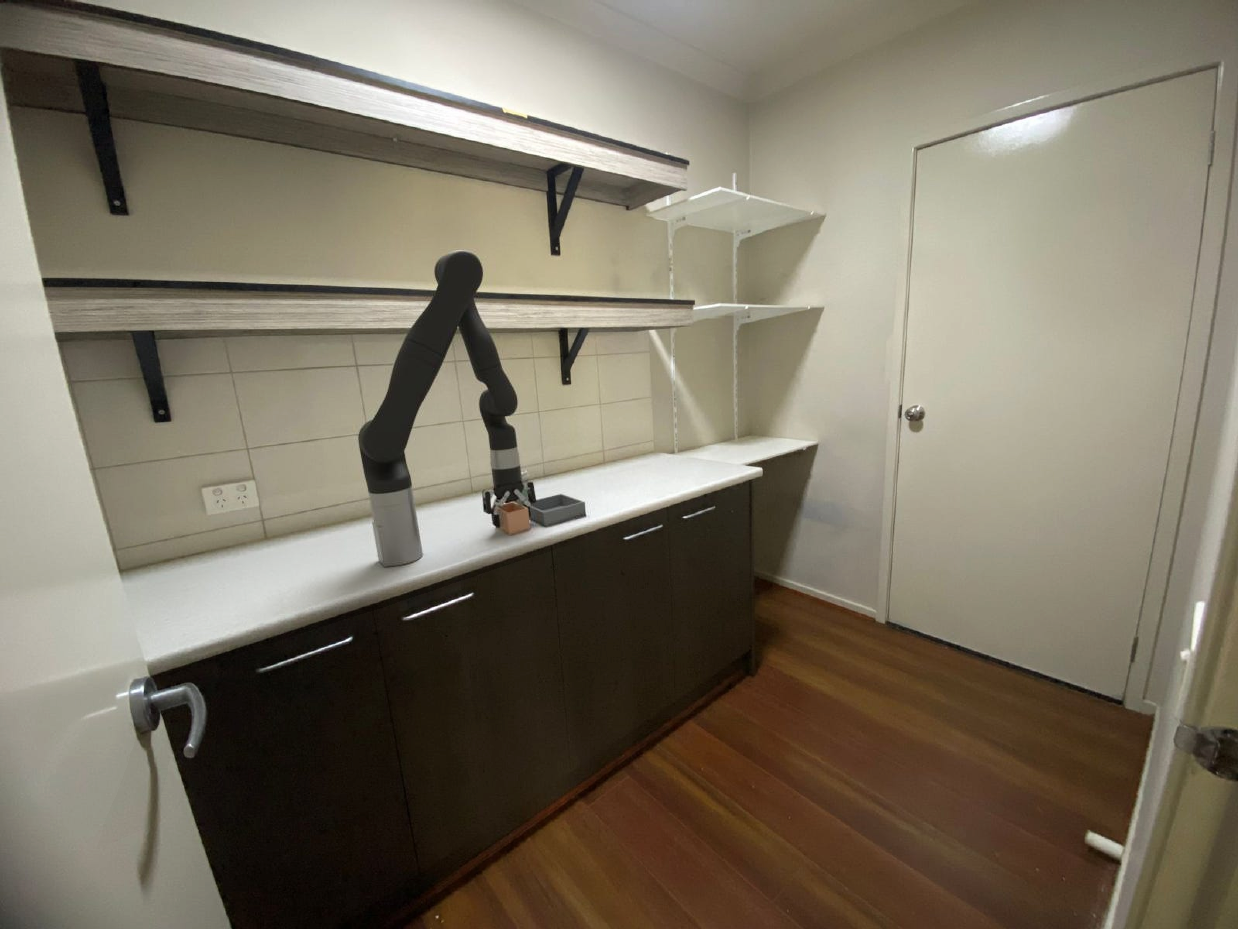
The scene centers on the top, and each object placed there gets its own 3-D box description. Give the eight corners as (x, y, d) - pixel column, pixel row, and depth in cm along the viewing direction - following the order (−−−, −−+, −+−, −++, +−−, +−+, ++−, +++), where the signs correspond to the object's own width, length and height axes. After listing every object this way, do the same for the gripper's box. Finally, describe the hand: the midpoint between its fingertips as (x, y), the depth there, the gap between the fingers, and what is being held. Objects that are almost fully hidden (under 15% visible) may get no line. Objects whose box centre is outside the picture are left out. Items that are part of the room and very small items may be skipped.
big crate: (545, 526, 132) (543, 512, 131) (523, 516, 143) (521, 503, 142) (585, 515, 140) (584, 502, 139) (562, 506, 150) (561, 493, 149)
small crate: (509, 535, 127) (507, 513, 126) (495, 527, 134) (493, 506, 133) (530, 529, 131) (528, 508, 130) (515, 522, 138) (513, 501, 137)
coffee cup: (535, 512, 146) (531, 473, 144) (506, 517, 143) (502, 477, 141) (529, 505, 154) (525, 467, 151) (502, 509, 151) (497, 471, 148)
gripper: (485, 471, 122) (493, 533, 125) (536, 461, 130) (542, 519, 133) (474, 467, 128) (482, 526, 131) (523, 458, 136) (529, 514, 139)
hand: (512, 523), depth 132 cm, fingers open, 8 cm apart
